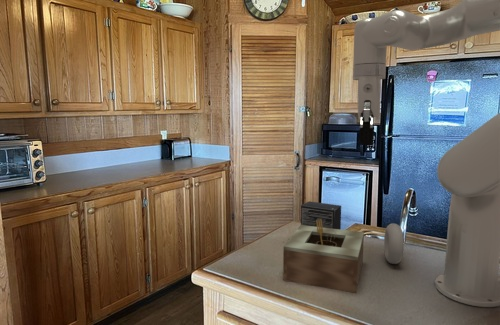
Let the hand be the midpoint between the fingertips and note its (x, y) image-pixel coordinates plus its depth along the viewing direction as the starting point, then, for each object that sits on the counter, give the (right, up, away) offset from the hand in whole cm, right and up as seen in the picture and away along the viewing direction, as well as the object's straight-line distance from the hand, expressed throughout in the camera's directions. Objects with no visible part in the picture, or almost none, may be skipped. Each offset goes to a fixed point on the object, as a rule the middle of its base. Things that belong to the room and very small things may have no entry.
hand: (366, 143), depth 90 cm
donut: (+7, -30, +1) cm, 31 cm away
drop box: (-11, -31, -4) cm, 33 cm away
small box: (-8, -28, +17) cm, 34 cm away
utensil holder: (-11, -31, -4) cm, 33 cm away
